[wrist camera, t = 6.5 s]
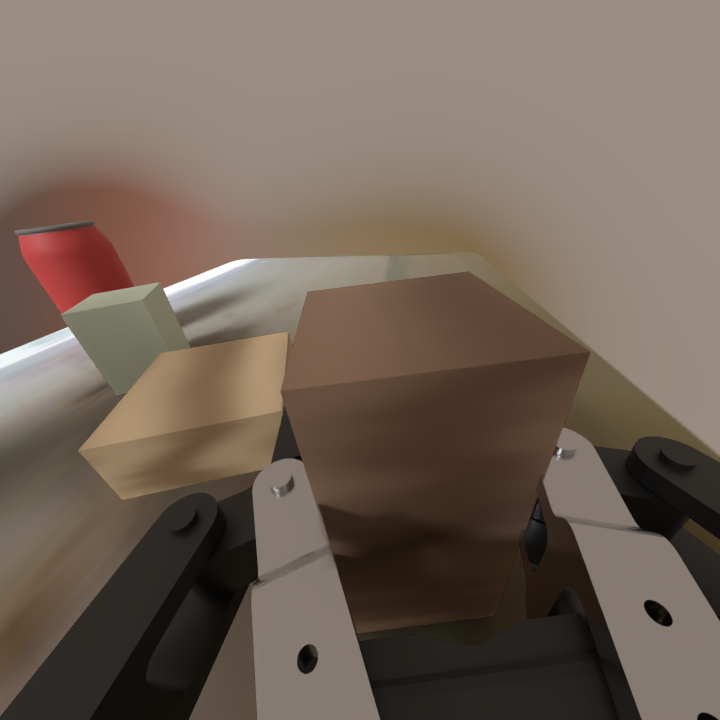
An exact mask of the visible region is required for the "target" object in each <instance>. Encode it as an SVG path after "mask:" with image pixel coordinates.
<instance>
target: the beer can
mask: <svg viewBox="0 0 720 720" xmlns="http://www.w3.org/2000/svg"><path fill="white" fill-rule="evenodd" d="M15 234H17V235H18V236H19V241H20V247H21V252H22V254H23V257H24V259H25V261H26V263H27V264H28V265H29V267H30V268H31V270H32V271H33V273H34V274H35V276H36V277H37V278H38V280H39V281H40V283H41V284H42V286H43V287H44V289H45V290H46V291H47V293H48V294H49V296H50V297H51V298H52V300H53V301H54V303H55V304H56V306H57V307H58V309H59V310H60V311H61V313H62V314H63V313H64V312H66V311H67V310H69V309H70V308H72V307H74V306H75V305H77V304H78V303H80V302H81V301H83V300H85V299H86V298H88V297H89V296H91V295H92V294H97V293H103V292H108V291H114V290H120V289H125V288H131V287H135V286H134V284H133V283H132V281H131V279H130V277H129V275H128V273H127V271H126V269H125V267H124V265H123V263H122V262H121V260H120V258H119V256H118V254H117V252H116V250H115V248H114V246H113V245H112V243H111V242H110V241H109V239H108V238H107V237H106V236H105V235H104V234H103V233H102V232H101V231H100V230H99V229H98V228H97V227H96V226H94V222H93V221H84V222H75V223H67V224H60V225H52V226H45V227H38V228H30V229H23V230H17V231H15Z"/></svg>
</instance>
